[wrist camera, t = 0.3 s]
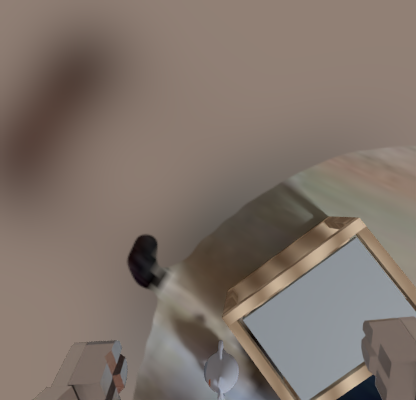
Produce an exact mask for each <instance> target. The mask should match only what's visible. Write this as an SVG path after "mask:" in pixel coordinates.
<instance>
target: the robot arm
mask: <svg viewBox="0 0 416 400" xmlns="http://www.w3.org/2000/svg"><path fill="white" fill-rule="evenodd" d="M362 330H363V331H364V333H365V335H366V336H365V337H364V338H363V339H362V340H361V349H362V355H363V359H364V362H365V364H366V366H367V369H368V371H369V372H371V373H372V374H373V375H375V376H376V380H375V385H376V387H377V389H378V391H379V393H380V395H381V397H382V399H383V400H416V317H414V316H412V317H400V318H388V319H376V320H365V321H364V323H363V329H362ZM121 349H122V347H121V344H120V341H117V340H114V341H94V342H81V343H74V344H73V345H72V346H71V348H70V350H69V352H68V354H67V356H66V358H65V360H64V362H63V364H62V366H61V368H60V370H59V372H58V374H57V376H56V378H55V380H54V382H53V384H52V386H51V387H47V388H45V389H44V390H43V391H42V392H41V393H40V394H38V395H37V396H36V397H35V398H34V399H33V400H121V399H120V396H119V393H120V391H122V390H123V388H124V387H125V383H126V380H127V362H126V358H125V357H124V356H123V355H121V354H120V353H121Z"/></svg>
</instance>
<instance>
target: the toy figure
mask: <svg viewBox="0 0 416 400" xmlns="http://www.w3.org/2000/svg"><path fill="white" fill-rule="evenodd" d="M218 349H219V350H218V351H217V353H215V354H213V355H211V356H210V357H209V359H208V360H207V361H206V363H205V367H204V377H205V380H206V382H207V383H208V385H209V387H210V388H211V389H212V390H213V391H214V392H216V393H218V400H224V399H225V395H224V393H226V392H228V391H229V390H230V389H231V388H232V387H233V386H234V385H235V383H236V381H237V379H238V374H239V369H238V364H237V362H236V360H235V359H234V358H233V357H232V356H231V355H230V354H228V353H226V351H225V350H223V341H222V340H220V341H219V344H218Z"/></svg>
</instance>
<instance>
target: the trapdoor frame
mask: <svg viewBox="0 0 416 400" xmlns="http://www.w3.org/2000/svg"><path fill="white" fill-rule="evenodd" d="M355 234H356V235H357V237H358V238H359V239H360V240H361V242H362V243H363V244H364V245H365V247H366V248H367V249H368V250H369V252H370V253H371V254H372V255H373V257H374V258H375V259H376V260H377V262H378V263H379V264H380V265H381V267H382V268H383V269H384V270H385V272H386V273H387V274H388V275H389V277H390V278H391V279H392V280H393V282H394V283H395V284H396V285H397V287H398V288H399V289H400V290H401V292H402V293H403V294H404V295H405V297H406V298H407V299H406V298H405V299H406V300H407V301H408V302H409V304H410V305H411V306H412V307H413V309H414V310H415V311H416V287H415V286H414V285H413V284H412V282H411V281H410V280H409V279H408V277H407V276H406V275H405V274H404V272H403V271H402V270H401V269H400V267H399V266H398V265H397V264H396V263H395V261H394V260H393V259H392V258H391V256H390V255H389V254H388V253H387V251H386V250H385V249H384V248H383V246H382V245H381V244H380V243H379V241H378V240H377V239H376V238H375V236H374V235H373V234H372V233H371V231H370V230H369V229H368V228H367V227H366V225H365V224H364V223H363V222H362V220H361V219H360V218H355V217H327V218H326V219H325V220H323V221H322V222H320V223H319V224H318V225H316V226H315V227H314V228H312V229H311V230H310V231H308V232H307V233H305V234H304V235H303V236H301V237H300V238H299V239H297V240H296V241H295V242H293V243H292V244H291V245H289V246H288V247H286V248H285V249H284V250H282V251H281V252H280V253H278V254H277V255H276V256H274V257H273V258H272V259H270V260H269V261H267V262H266V263H265V264H263V265H262V266H261V267H259V268H258V269H257V270H255V271H254V272H252V273H251V274H250V275H248V276H247V277H246V278H244V279H243V280H242V281H240V282H239V283H238V284H236V285H235V286H233V287H232V288H231V289H229V290H228V292H227V296H226V301H225V306H224V311H223V316H222V319H223V320H224V321H225V323H226V324H227V326H228V327H229V328H230V330H231V331H232V332H233V334H234V335H235V337H236V338H237V339H238V341H239V342H240V344H241V345H242V346H243V348H244V349H245V350H246V352H247V353H248V355H249V356H250V357H251V359H252V360H253V361H254V363H255V364H256V366H257V367H258V368H259V370H260V371H261V373H262V374H263V375H264V377H265V378H266V379H267V381H268V382H269V384H270V385H271V386H272V388H273V389H274V390H275V392H276V393H277V395H278V396H279V397H280V399H281V400H301V399H300V397H299V396H298V395H297V393H296V392H295V391H294V389H293V388H292V387H291V385H290V384H289V382H288V381H287V380H286V378H285V377H284V376H283V378H284V381H283V380H282V379H281V377H280V376H279V375H278V373H277V372H276V370H275V369H274V368H273V366H272V365H271V364H270V362H269V361H268V359H267V358H266V357H265V355H264V354H263V353H262V351H261V350H260V348H259V347H258V346H257V344H256V343H255V342H254V340H253V339H252V338H251V336H250V335H249V333H248V332H247V331H246V329H245V328H244V327H243V325H242V324H241V322H240V321H239V320H238V319H239V318H241V317H242V316H243V315H244V316H246V315H248V314H249V313H250V312H251V311H252V310H254V309H255V308H257V307H259V306H260V305H262V304H263V303H264V302H266V301H267V300H268V299H270V298H271V297H273V296H274V295H275V294H277V293H278V292H279V291H281V290H282V289H284V288H285V287H286V286H288V285H289V284H290V283H292V282H293V281H295V280H296V279H297V278H299V277H300V276H302V275H303V274H304V273H306V272H307V271H308V270H310V269H311V268H313V267H314V266H315V265H317V264H318V263H319V262H321V261H322V260H324V259H325V258H326V257H328V256H329V255H330V254H332V253H333V252H335V251H336V250H337V249H339V248H340V247H341V246H343V245H344V244H346V243H347V242H348V241H350V240H349V238H351V237H352V236H354V235H355ZM371 375H372V373H371V372H369V371H368V369H367V366H366V364H365V362H363V363H361V364H360V365H358V366H357V367H355V368H354V369H352V370H351V371H350V372H348V373H347V374H345V375H344V376H342V377H341V378H340V379H338V380H337V381H335V382H334V383H332V384H331V385H329V386H328V387H327V388H325V389H324V390H322V391H321V392H319V393H318V394H316V395H315V396H314V397H312V398H311V399H309V400H336V399H338V398H339V397H340V396H342V395H343V394H345V393H346V392H348V391H349V390H351V389H352V388H354V387H355V386H356V385H358V384H359V383H361V382H362V381H364V380H365V379H367V378H368V377H369V376H371ZM284 382H285V383H284Z"/></svg>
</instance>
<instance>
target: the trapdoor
mask: <svg viewBox="0 0 416 400" xmlns="http://www.w3.org/2000/svg"><path fill="white" fill-rule="evenodd" d="M412 316H414V317H416V311H415V310H414V309H413V307H412V306H411V305H410V304H409V302H408V301H407V300H406V299H405V297H404V296H403V295H402V294H401V292H400V291H399V290H398V289H397V287H396V286H395V285H394V284H393V282H392V281H391V280H390V279H389V277H388V276H387V275H386V274H385V272H384V271H383V270H382V269H381V267H380V266H379V265H378V264H377V262H376V261H375V260H374V258H373V257H372V256H371V255H370V253H369V252H368V251H367V250H366V248H365V247H364V246H363V245H362V243H361V242H360V241H359V240H358V238H356V237H354V238H352V239H351V240H350V241H348V242H347V243H346V244H344V245H343V246H341V247H340V248H339V249H337V250H336V251H335V252H333V253H332V254H330V255H329V256H328V257H326V258H325V259H324V260H322V261H321V262H319V263H318V264H317V265H315V266H314V267H313V268H311V269H310V270H308V271H307V272H306V273H304V274H303V275H302V276H300V277H299V278H297V279H296V280H295V281H293V282H292V283H290V284H289V285H288V286H286V287H285V288H284V289H282V290H281V291H279V292H278V293H277V294H275V295H274V296H273V297H271V298H270V299H268V300H267V301H266V302H264V303H263V304H262V305H260V306H259V307H257V308H255V309H254V310H252V311H251V312H250V313H249V314H248V315H246V316H245V317H244V318H243V321H244V322H245V324H246V325H247V326H248V328H249V329H250V331H251V332H252V333H253V335H254V336H255V337H256V339H257V340H258V341H259V343H260V344H261V346H262V347H263V348H264V350H265V351H266V352H267V354H268V355H269V356H270V358H271V359H272V361H273V362H274V363H275V365H276V366H277V367H278V369H279V370H280V372H281V373H282V374H283V376H284V377H285V378H286V380H287V381H288V382H289V384H290V385H291V387H292V388H293V389H294V391H295V392H296V393H297V395H298V396H299V397H300V399H301V400H309V399H311V398H312V397H314V396H315V395H316V394H318V393H319V392H321V391H322V390H324V389H325V388H327V387H328V386H329V385H331V384H332V383H334V382H335V381H337V380H338V379H340V378H341V377H342V376H344V375H345V374H347V373H348V372H350V371H351V370H352V369H354V368H355V367H357V366H358V365H360V364H361V363H363V362H364V359H363V355H362V349H361V340H362V339H363V338H364V337H365V336H366V335H365V333H364V331H363V330H362V329H363V323H364V321H365V320H376V319H388V318H400V317H412Z"/></svg>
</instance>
